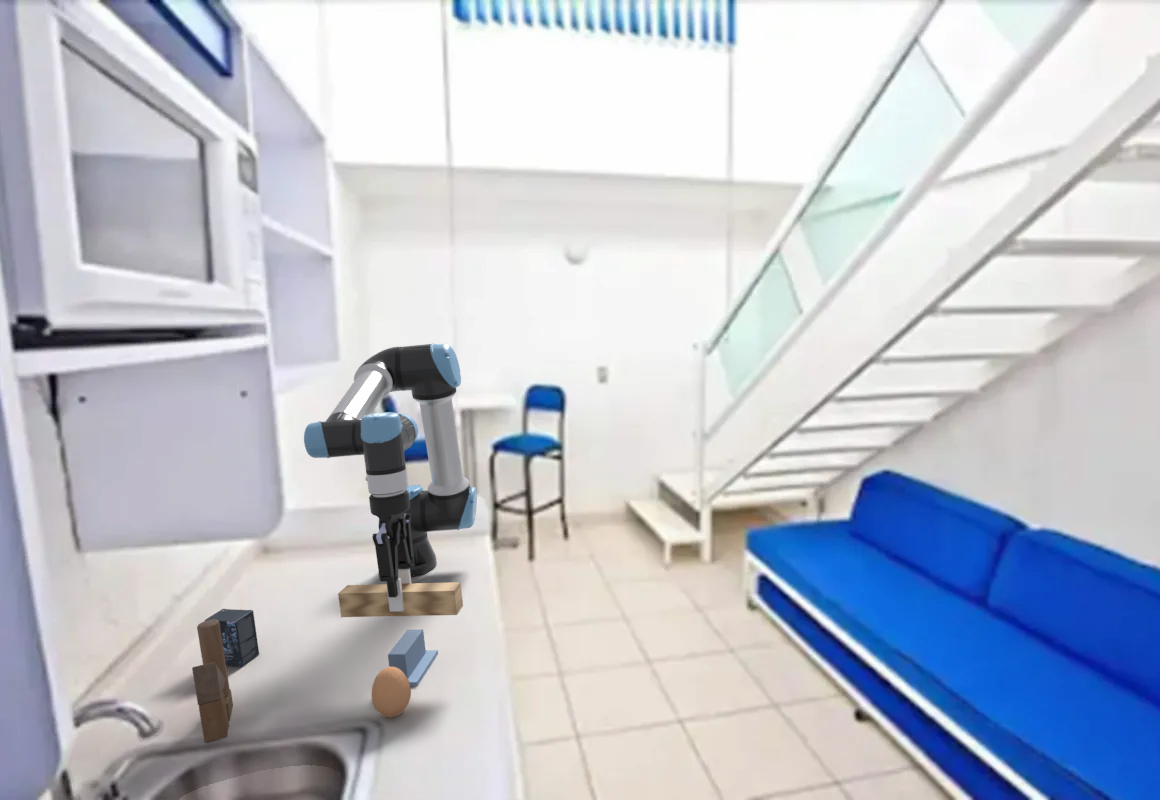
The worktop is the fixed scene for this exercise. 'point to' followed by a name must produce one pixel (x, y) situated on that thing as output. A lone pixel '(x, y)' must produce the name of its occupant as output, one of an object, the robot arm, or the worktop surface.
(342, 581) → the worktop surface
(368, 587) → the oak bar
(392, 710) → the egg
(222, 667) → the wooden block
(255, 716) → the worktop surface
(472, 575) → the worktop surface
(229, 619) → the box
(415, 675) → the fulcrum
